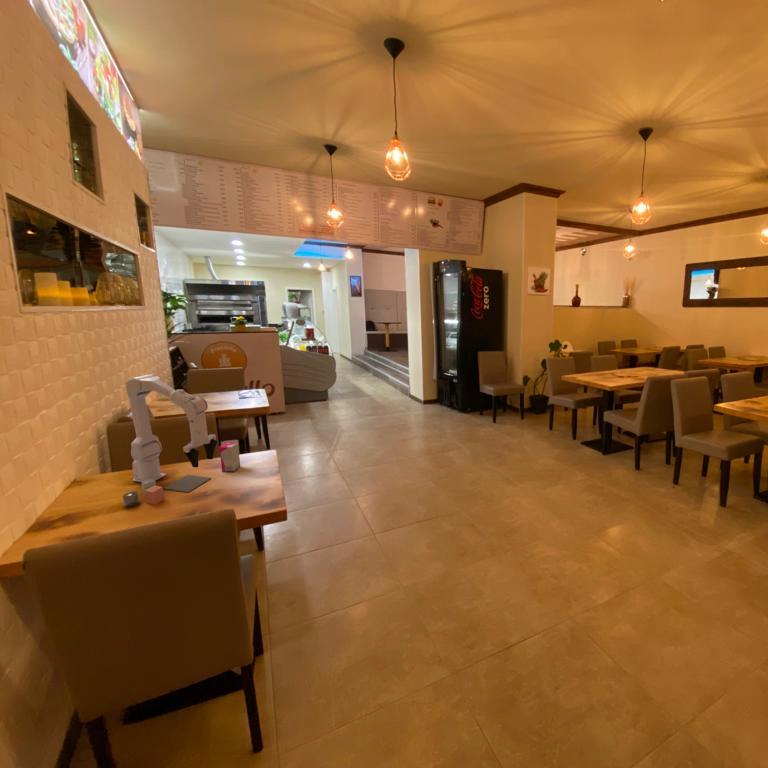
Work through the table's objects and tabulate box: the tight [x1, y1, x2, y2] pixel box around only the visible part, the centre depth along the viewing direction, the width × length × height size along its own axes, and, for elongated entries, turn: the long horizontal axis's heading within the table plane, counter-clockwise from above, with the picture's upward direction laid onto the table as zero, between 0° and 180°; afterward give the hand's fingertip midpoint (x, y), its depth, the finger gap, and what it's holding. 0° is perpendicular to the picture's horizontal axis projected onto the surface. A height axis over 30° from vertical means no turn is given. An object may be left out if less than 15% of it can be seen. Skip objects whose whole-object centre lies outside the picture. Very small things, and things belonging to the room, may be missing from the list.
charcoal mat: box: [163, 474, 212, 494], centre depth 146 cm, size 12×12×1 cm
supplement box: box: [218, 442, 241, 473], centre depth 158 cm, size 6×6×12 cm
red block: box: [144, 485, 165, 505], centre depth 133 cm, size 4×4×5 cm
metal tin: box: [122, 490, 140, 508], centre depth 131 cm, size 4×4×4 cm
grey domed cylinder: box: [141, 479, 157, 497], centre depth 139 cm, size 4×4×5 cm
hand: (203, 462), depth 142 cm, fingers open, 7 cm apart
